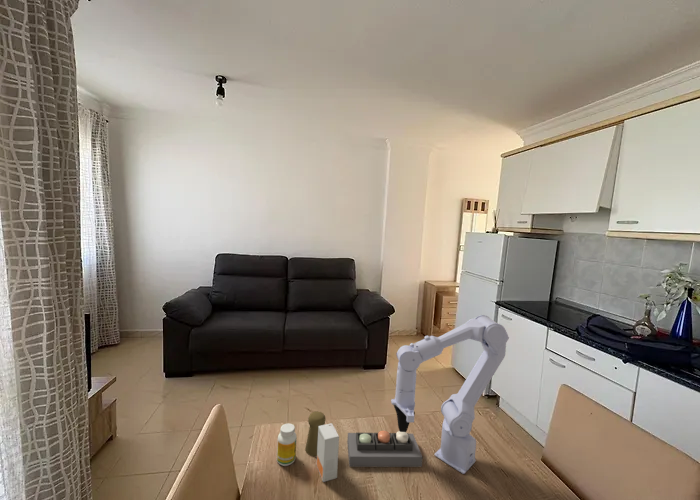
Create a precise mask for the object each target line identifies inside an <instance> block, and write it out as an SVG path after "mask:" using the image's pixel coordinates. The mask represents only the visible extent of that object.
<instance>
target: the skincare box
mask: <svg viewBox="0 0 700 500" xmlns="http://www.w3.org/2000/svg"><path fill="white" fill-rule="evenodd" d="M339 445H340V436H339V434H338V432H337V429H336V427H335V425H333V423H332V422H331V423H328V424H327V423H325V424H324V425H321V426H318V444H317V456H316V465H315V466H316V468H317V471H318V473H319V475H320V477H321V479H320V480H322V483H325V482H328V481H332V480H335V479H337V478H338V466H339V465H338V463H339V450H340V449H339V448H340V447H339Z"/></svg>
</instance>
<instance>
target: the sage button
mask: <svg viewBox="0 0 700 500" xmlns="http://www.w3.org/2000/svg"><path fill="white" fill-rule="evenodd" d="M359 443H371V436H370V435H369V434H361V435H360V437H359Z"/></svg>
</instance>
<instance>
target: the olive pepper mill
mask: <svg viewBox="0 0 700 500" xmlns="http://www.w3.org/2000/svg"><path fill="white" fill-rule="evenodd" d="M307 419H308V426H309V427H308V433H307V438H306V443H305V444H306V445H305V449H304V450H305V453H306V454H307V455H309V456H311V457H317V444H318V426H321V425H325V424H326V416H325V414H324V412H322V411H319V410H317V411H313V412H311V413H310V414H309V416H308V417H307Z"/></svg>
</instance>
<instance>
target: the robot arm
mask: <svg viewBox="0 0 700 500" xmlns="http://www.w3.org/2000/svg"><path fill="white" fill-rule="evenodd" d="M509 338H510V337H509V334H508V332H507V329H506V328H505V327H504V326H503V325H502V324H501V323H498V322H496V321H495V320H493V319H492V318H490V317H489V316H487V315H485V314H480V315H477V316H476V317H472V318H470V319H468V320H467V321H466V322H464V323H463V324H460V325H458V326H457V327H455V328H453V329H452V330H449V331H447V332H446V333H444V334H442V335H440V336H434V335H425V336H424V338H422V339H420V340H419V341H416V342H414V343H413V342H411V343H410V344H409V345H407V344H405V345H401V346H400V347H399V348H398V350H397V352H396V358H397V360H398V362H397V371H396V381H395V382H396V384H395V396H394V398H390V399H391V400H390V402H391V405H393V407H394V410H395V413H396V419H397V420H396V421H397V427H398V431H400V432H406V433H407V431H408V428H409V426H410V423H415V418H416V417H415V416H416V413H415V409H416V408H415V407H416V401H415V398H416V397H415V396H416V386H417V385H416V384H417V369H418V368H420V365H421V364H423V363H424V362H426V361H428V360H431V359H434V358H436V357H437V356H440V355H442V353H443V350H444V349H445V348H448V347H451V346H454V345H457V344H459V343H462V342H464V341H467V340H472V341H476V342H480V344H481V346H482V349H483V351H482V352H481V354H480V356H479V357H478V359H477V360H476V362H475V364H474V366H473V367H472V369H471V370H470V372H469V374H468V375H467V377H466V379H465V380H464V382H463V384H462V385H461V387H460V389H459V390H458V392H457V393H453V394H451V395H450V396H449V398H448V399H446V400H445V401H443V403H442V404H441V407H440V412H441V414H442V416H443V422H442V426H441V437H440V439H441V440H440V448H439V449H438V450H437V451H436V452H434V456H435V457H436V458H438V459H440V460H441V461H442V462H444V463H445V464H447V465H449V466H450V467H452V468H453V469H454V470H456V471H457V472H460V474H462V475H463V474H466V473H467V472H468V471H469V469H471V467H472V466H473V465H474V464H475V462H476V460H477V459H476V452H477V451H476V449H477V440H476V438H475V437H473V435H471V434H470V433H471V432H472V426H473V422H474V420H475V416H476V415H475V406H476V405H477V403H478V401H479V400H480V397H482V395H483V393H484V391H485V390H486V389H487V387H488V385H489V383H490V381H491V379H492V378H493V376H494V375H495V374H496V372H497V370H498V369H499V367H500V366H501V364H502V363H503V360H504V359H505V356H506V352H507V349H506V347H507V342H508V341H509Z"/></svg>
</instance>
